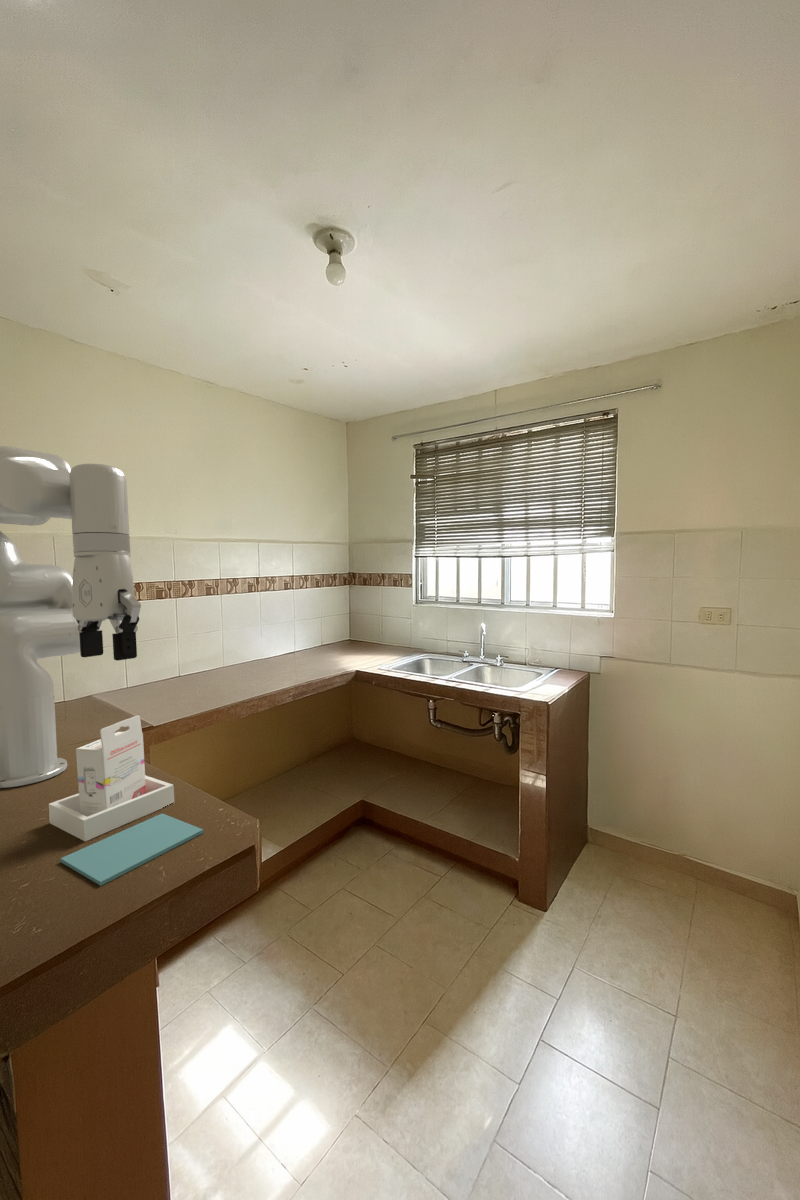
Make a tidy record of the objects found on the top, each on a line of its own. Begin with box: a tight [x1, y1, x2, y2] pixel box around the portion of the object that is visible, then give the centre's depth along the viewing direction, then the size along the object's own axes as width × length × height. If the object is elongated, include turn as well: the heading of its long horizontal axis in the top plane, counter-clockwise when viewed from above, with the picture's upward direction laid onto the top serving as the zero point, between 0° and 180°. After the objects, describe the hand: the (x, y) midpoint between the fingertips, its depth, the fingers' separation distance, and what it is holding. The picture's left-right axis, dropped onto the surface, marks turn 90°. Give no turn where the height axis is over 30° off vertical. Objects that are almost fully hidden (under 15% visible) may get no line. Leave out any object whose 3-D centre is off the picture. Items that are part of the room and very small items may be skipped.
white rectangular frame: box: [48, 774, 175, 842], centre depth 77 cm, size 11×14×3 cm
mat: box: [60, 813, 204, 887], centre depth 66 cm, size 10×14×1 cm
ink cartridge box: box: [75, 715, 146, 817], centre depth 76 cm, size 9×5×15 cm, turn 168°
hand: (108, 657), depth 76 cm, fingers open, 9 cm apart
